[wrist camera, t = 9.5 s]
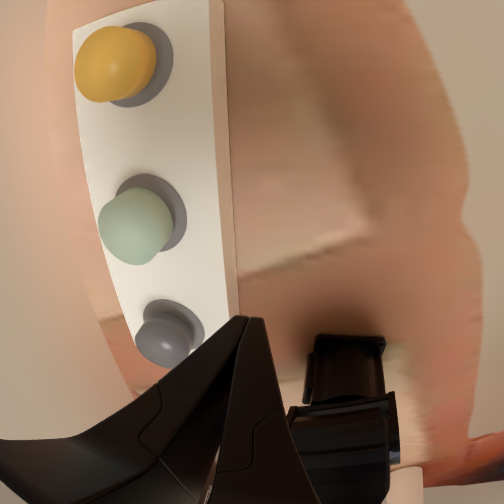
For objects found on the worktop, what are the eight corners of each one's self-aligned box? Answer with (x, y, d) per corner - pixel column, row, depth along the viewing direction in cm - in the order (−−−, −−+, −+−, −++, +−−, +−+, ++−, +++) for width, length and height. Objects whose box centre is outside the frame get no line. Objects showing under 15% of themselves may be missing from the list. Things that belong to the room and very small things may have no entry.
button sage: (170, 184, 18) (151, 198, 16) (179, 248, 20) (164, 268, 18) (112, 186, 18) (91, 199, 16) (125, 244, 21) (107, 262, 18)
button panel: (223, 1, 14) (207, -12, 11) (241, 342, 28) (234, 367, 25) (98, 33, 16) (70, 30, 13) (148, 326, 30) (135, 347, 27)
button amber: (158, 22, 13) (136, 16, 11) (161, 92, 15) (139, 94, 13) (98, 41, 13) (72, 39, 11) (101, 104, 16) (76, 109, 14)
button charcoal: (191, 313, 23) (180, 335, 20) (199, 352, 25) (190, 373, 23) (141, 305, 23) (128, 325, 21) (154, 343, 26) (143, 362, 23)
